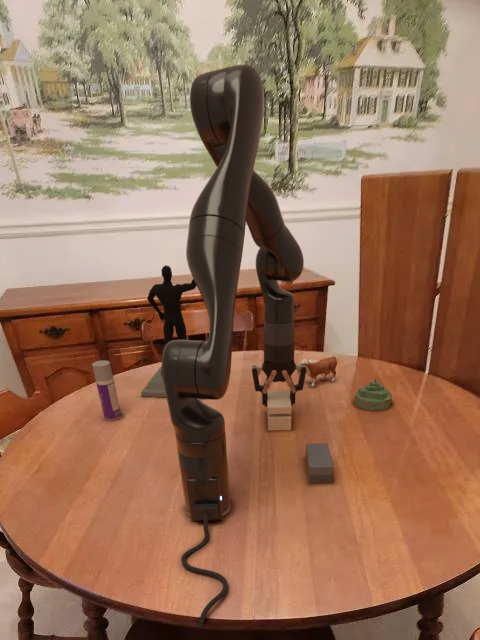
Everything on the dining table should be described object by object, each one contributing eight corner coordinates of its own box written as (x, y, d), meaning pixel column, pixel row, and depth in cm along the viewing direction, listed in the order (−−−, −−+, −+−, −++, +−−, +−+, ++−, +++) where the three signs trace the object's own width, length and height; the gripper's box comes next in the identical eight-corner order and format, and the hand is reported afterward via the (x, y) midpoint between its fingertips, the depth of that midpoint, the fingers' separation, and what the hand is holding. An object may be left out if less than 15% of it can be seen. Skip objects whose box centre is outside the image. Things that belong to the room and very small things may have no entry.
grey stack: (332, 483, 107) (333, 467, 104) (309, 483, 107) (310, 467, 104) (326, 458, 115) (327, 443, 113) (305, 458, 116) (305, 443, 113)
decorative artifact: (368, 413, 134) (397, 406, 137) (371, 388, 129) (401, 381, 133) (347, 400, 141) (376, 393, 144) (350, 376, 136) (379, 370, 140)
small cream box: (291, 430, 127) (291, 417, 125) (268, 430, 127) (267, 417, 125) (288, 412, 136) (289, 399, 134) (267, 412, 136) (267, 400, 134)
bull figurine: (295, 384, 151) (295, 358, 146) (332, 377, 155) (334, 350, 150) (302, 389, 148) (302, 362, 143) (339, 381, 152) (342, 355, 147)
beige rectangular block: (291, 413, 124) (291, 407, 123) (267, 414, 124) (267, 407, 123) (288, 396, 133) (289, 390, 132) (266, 397, 133) (266, 390, 132)
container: (100, 419, 135) (87, 364, 126) (112, 412, 139) (100, 359, 129) (114, 422, 134) (101, 367, 124) (125, 415, 137) (114, 361, 127)
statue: (221, 375, 159) (212, 249, 137) (207, 399, 144) (195, 263, 122) (160, 373, 162) (142, 250, 139) (141, 396, 147) (117, 263, 125)
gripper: (249, 345, 115) (251, 412, 126) (310, 343, 115) (307, 411, 126) (249, 335, 121) (251, 400, 132) (307, 334, 121) (305, 399, 132)
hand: (278, 405), depth 129 cm, fingers closed on beige rectangular block, 6 cm apart
